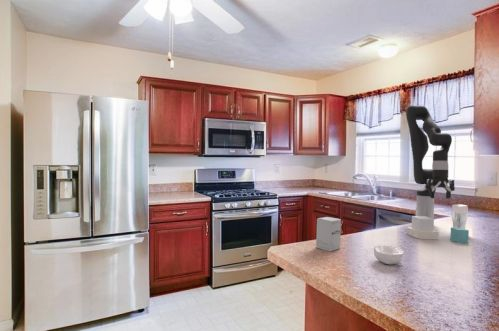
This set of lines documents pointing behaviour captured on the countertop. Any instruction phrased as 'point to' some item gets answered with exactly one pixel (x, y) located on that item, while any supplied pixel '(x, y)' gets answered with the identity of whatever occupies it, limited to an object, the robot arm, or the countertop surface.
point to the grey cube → (422, 223)
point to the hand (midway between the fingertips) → (440, 198)
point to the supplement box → (328, 233)
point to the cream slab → (422, 233)
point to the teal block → (459, 235)
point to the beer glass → (459, 216)
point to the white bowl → (388, 254)
